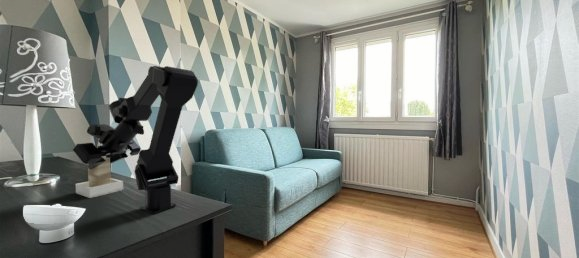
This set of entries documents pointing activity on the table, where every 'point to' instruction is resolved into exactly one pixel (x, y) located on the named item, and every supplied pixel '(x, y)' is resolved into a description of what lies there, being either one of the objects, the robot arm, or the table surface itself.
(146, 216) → the table surface
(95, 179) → the birch block
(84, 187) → the tray
